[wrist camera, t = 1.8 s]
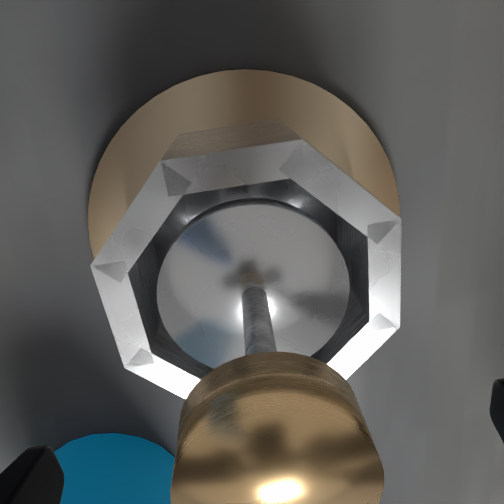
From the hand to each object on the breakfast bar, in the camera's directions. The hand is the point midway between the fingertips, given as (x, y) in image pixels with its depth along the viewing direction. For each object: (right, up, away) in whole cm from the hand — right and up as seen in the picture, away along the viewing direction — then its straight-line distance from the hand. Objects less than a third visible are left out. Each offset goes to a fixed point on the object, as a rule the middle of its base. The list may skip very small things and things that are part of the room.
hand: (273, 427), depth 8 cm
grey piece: (0, +3, +10) cm, 10 cm away
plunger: (0, +2, +5) cm, 6 cm away
